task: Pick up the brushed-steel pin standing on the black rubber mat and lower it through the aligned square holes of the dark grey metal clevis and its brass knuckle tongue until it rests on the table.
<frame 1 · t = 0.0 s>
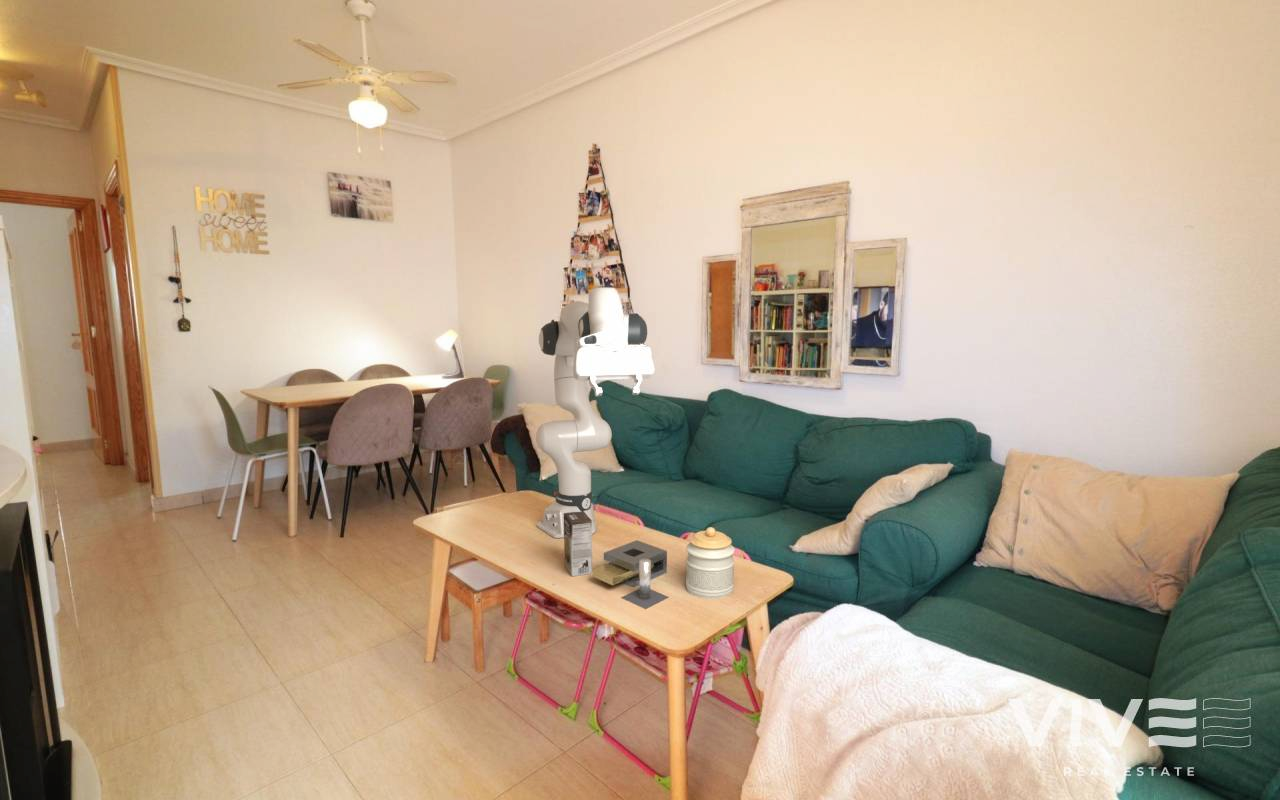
hand: (617, 394, 144), 54 cm above the table, tool tilted 30°, fingers open, 8 cm apart
pin: (644, 597, 154), resting on mat
jar: (709, 590, 159), on the table
coffee box: (578, 569, 172), on the table
mat: (644, 599, 154), on the table
clevis: (633, 576, 168), on the table
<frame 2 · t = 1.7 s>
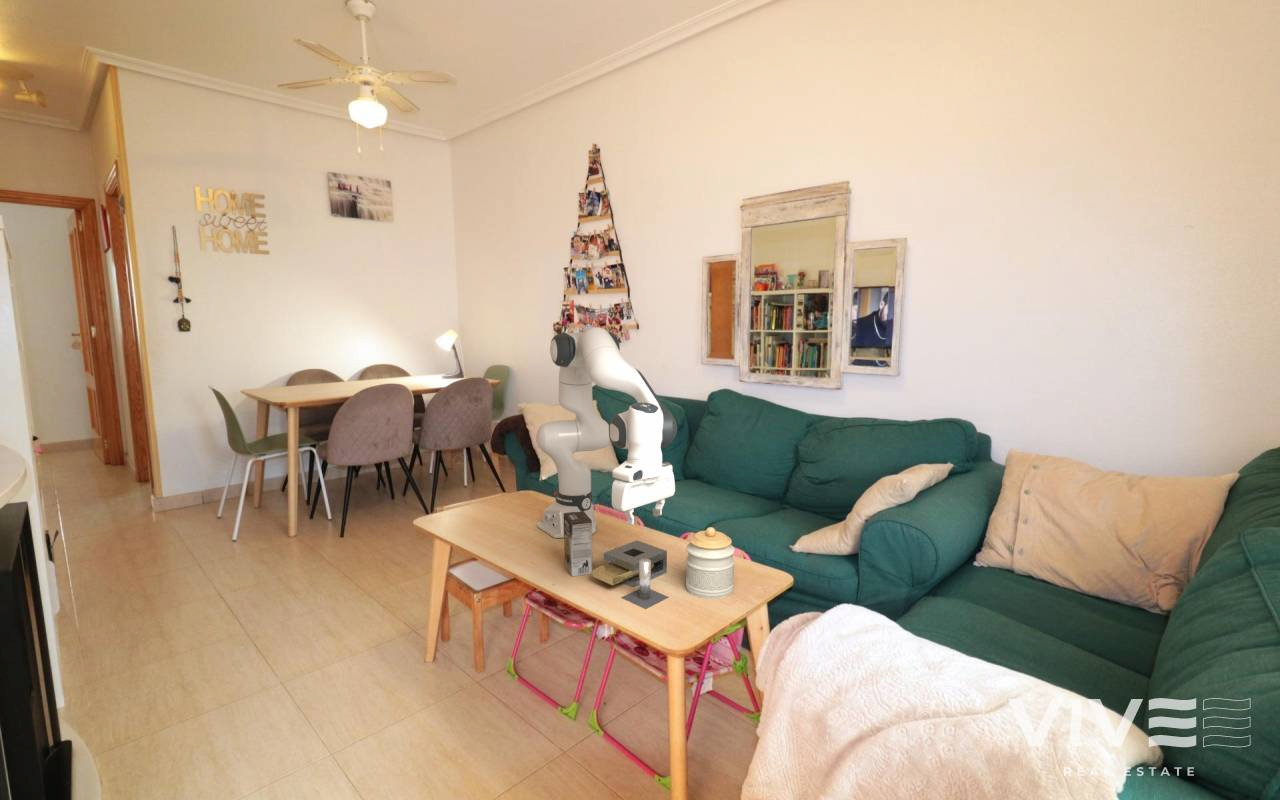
hand: (644, 519, 151), 22 cm above the table, tool pointing down, fingers open, 8 cm apart
nothing on the table moved.
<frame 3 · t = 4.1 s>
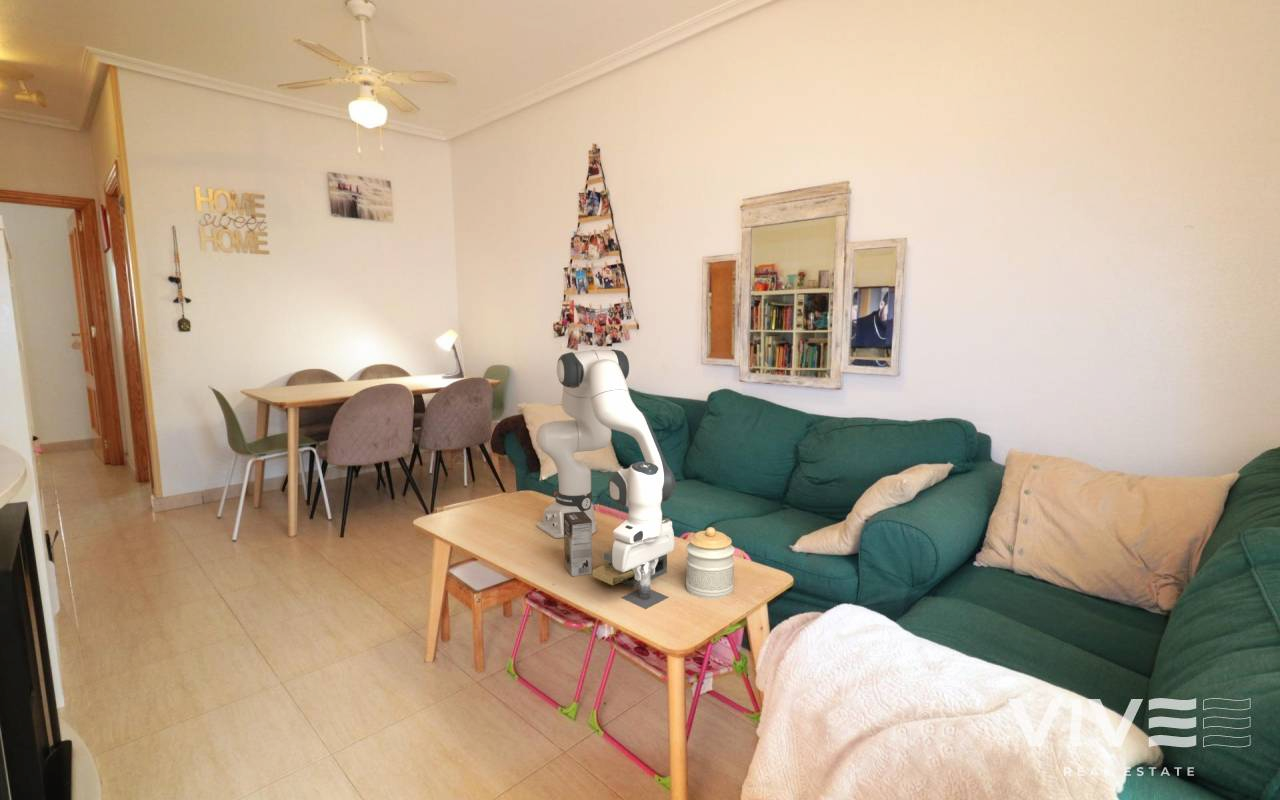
hand: (644, 576, 153), 6 cm above the table, tool pointing down, fingers closed on pin, 3 cm apart
pin: (644, 597, 154), resting on mat, touching gripper
everything else where it was.
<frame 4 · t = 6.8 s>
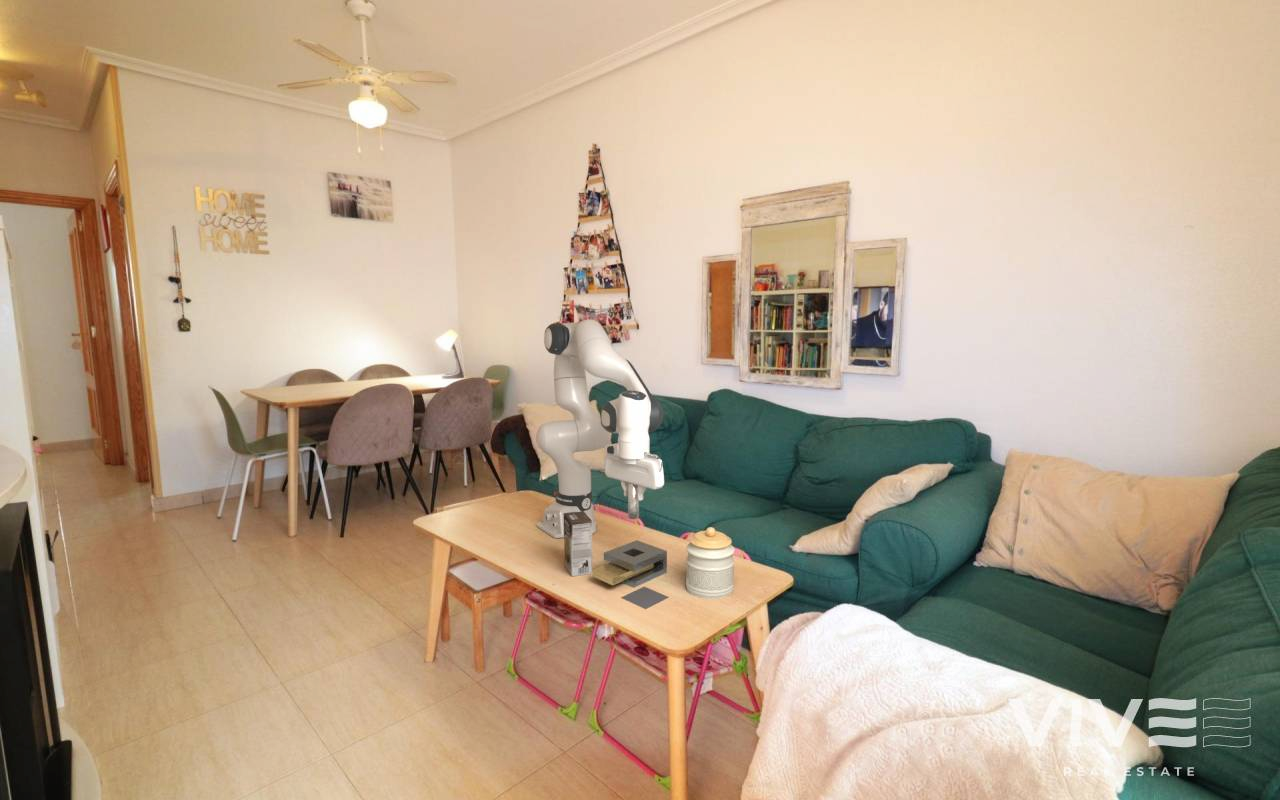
hand: (633, 498, 165), 23 cm above the table, tool pointing down, fingers closed on pin, 3 cm apart
pin: (633, 517, 166), point 17 cm above the table, touching gripper
everything else where it was.
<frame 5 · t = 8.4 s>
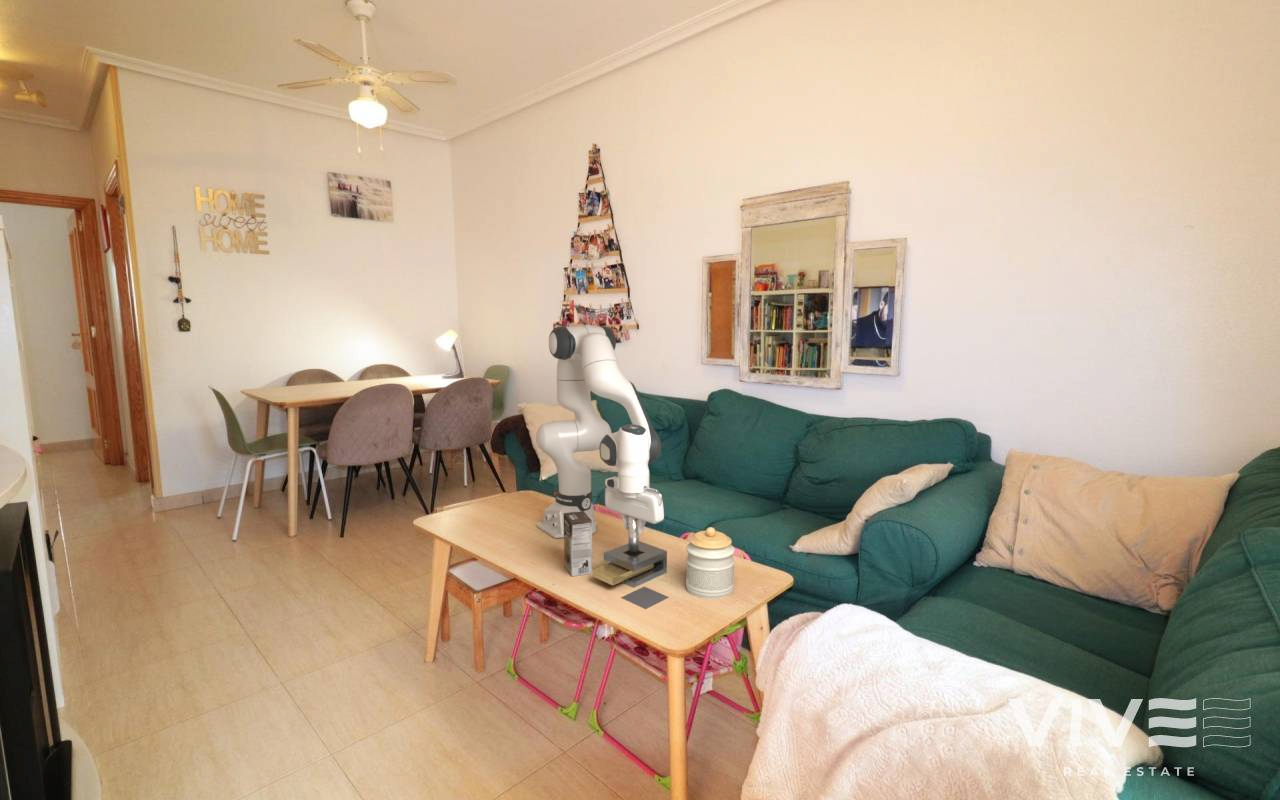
hand: (633, 530, 166), 13 cm above the table, tool pointing down, fingers closed on pin, 3 cm apart
pin: (633, 549, 167), point 8 cm above the table, touching gripper
everything else where it was.
when the fingers open (9 cm above the table, at t = 9.6 s): pin drops 3 cm, resting in clevis.
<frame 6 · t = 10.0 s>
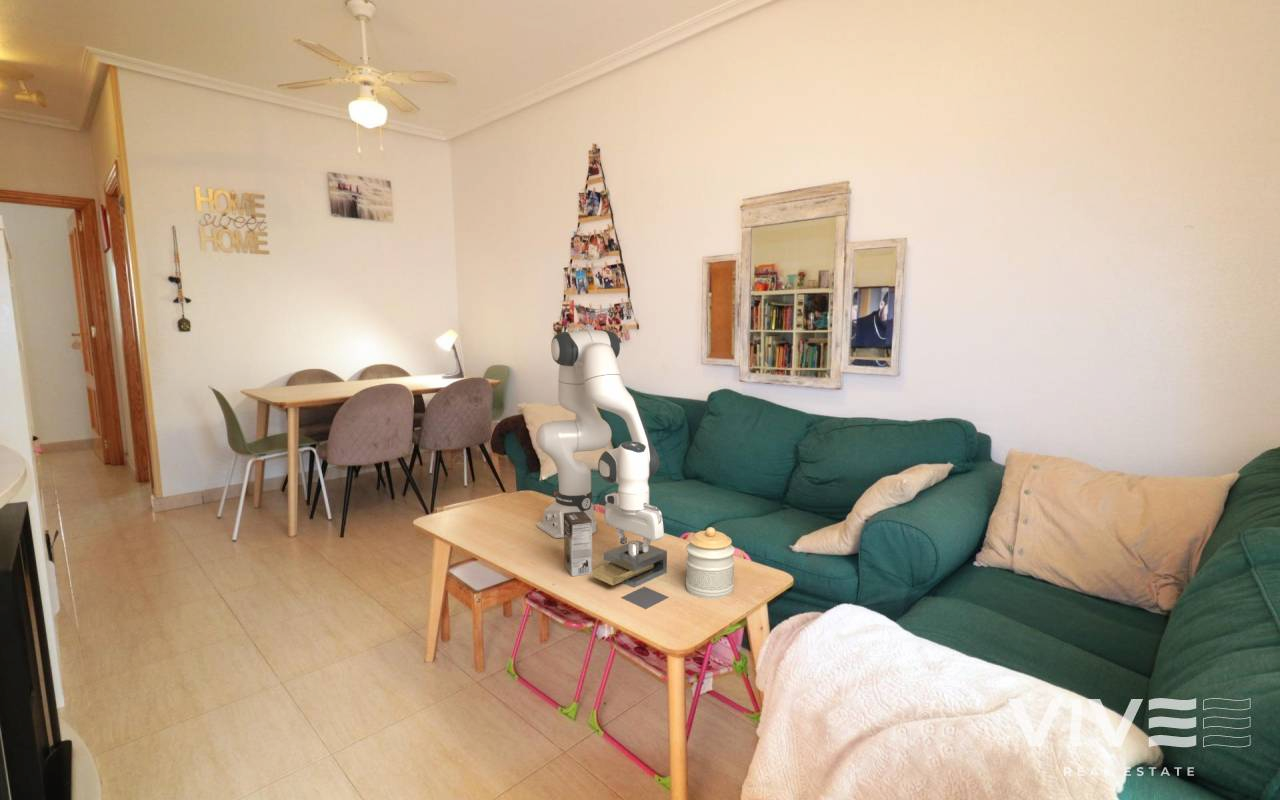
hand: (633, 547, 167), 9 cm above the table, tool pointing down, fingers open, 7 cm apart
pin: (633, 576, 168), resting in clevis
everything else where it was.
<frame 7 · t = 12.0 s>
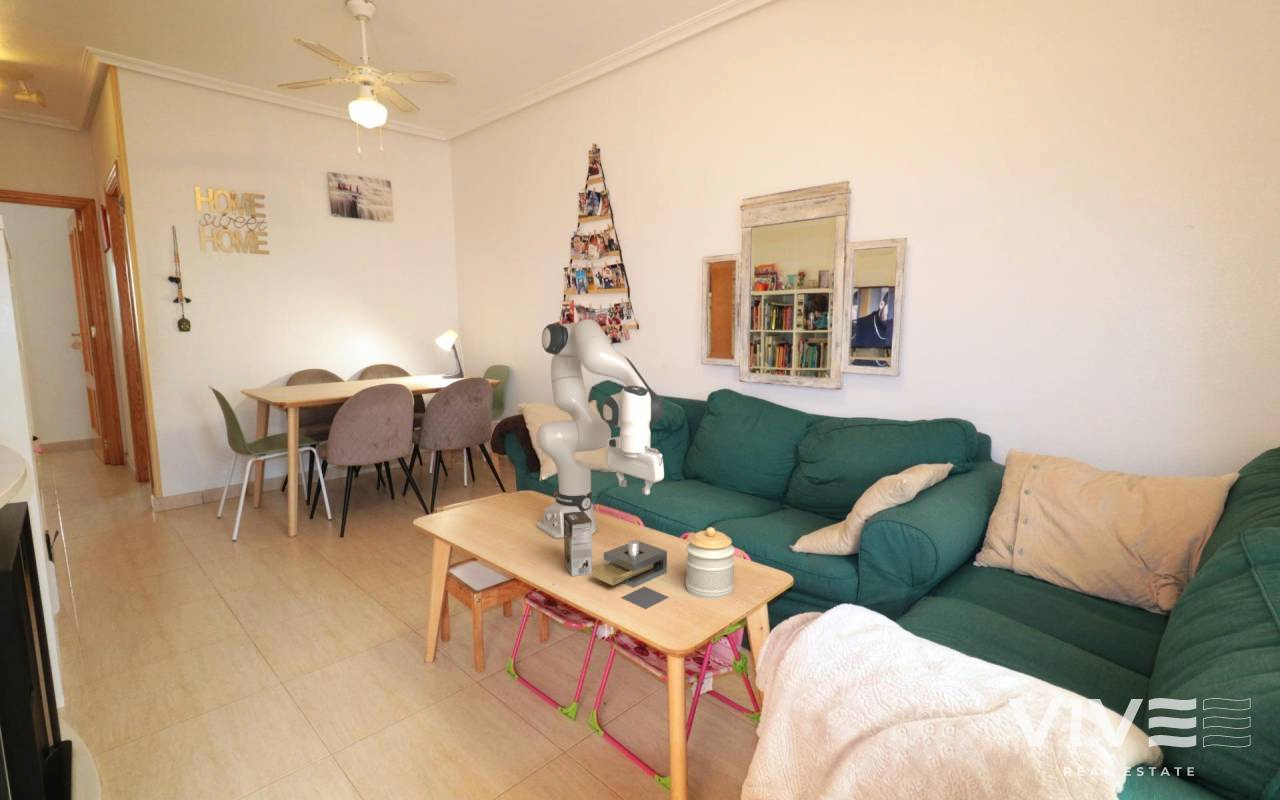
hand: (634, 490, 170), 24 cm above the table, tool pointing down, fingers open, 8 cm apart
nothing on the table moved.
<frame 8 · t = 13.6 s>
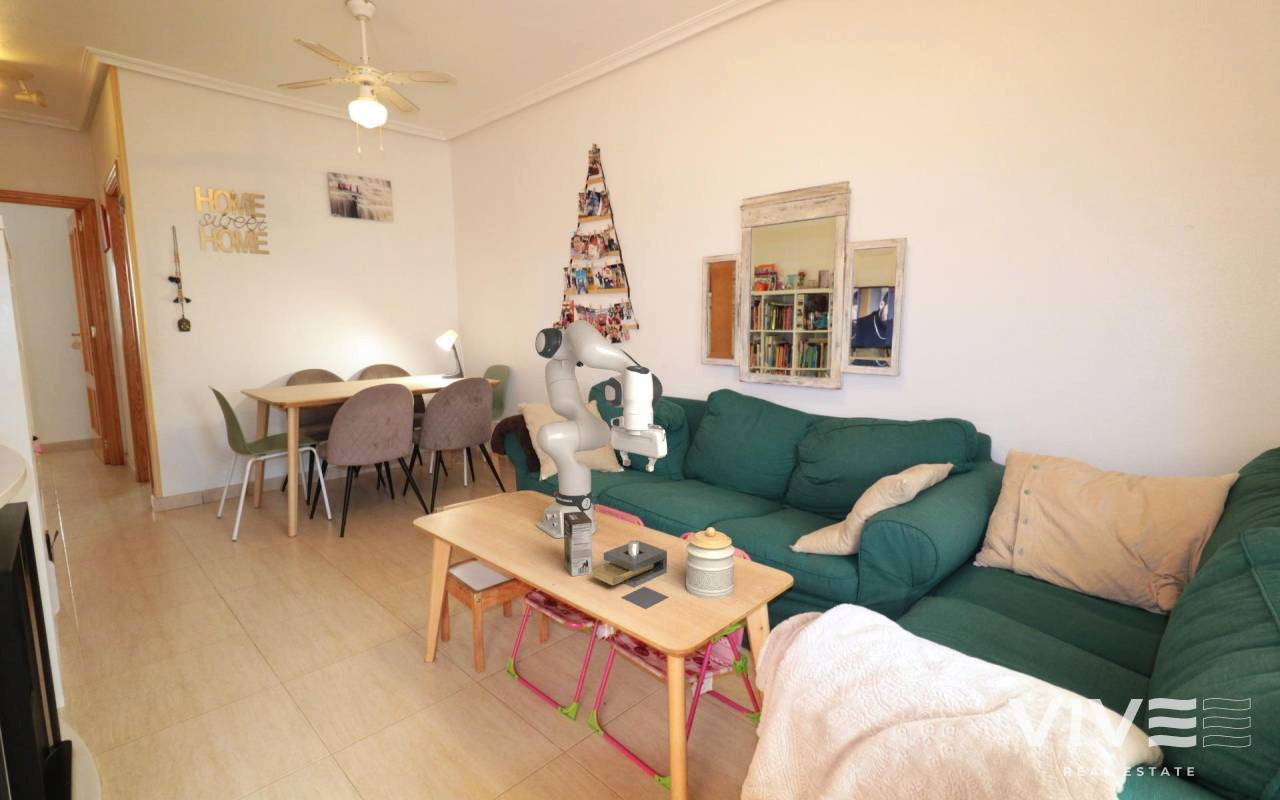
hand: (638, 468, 174), 29 cm above the table, tool pointing down, fingers open, 8 cm apart
nothing on the table moved.
at the end: pin 0.0 cm off-centre on the clevis, point 0.0 cm above the clevis's base; pin tilted 0°; the gripper is holding nothing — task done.
